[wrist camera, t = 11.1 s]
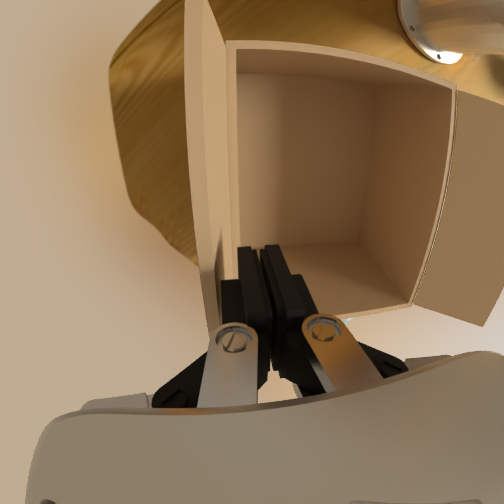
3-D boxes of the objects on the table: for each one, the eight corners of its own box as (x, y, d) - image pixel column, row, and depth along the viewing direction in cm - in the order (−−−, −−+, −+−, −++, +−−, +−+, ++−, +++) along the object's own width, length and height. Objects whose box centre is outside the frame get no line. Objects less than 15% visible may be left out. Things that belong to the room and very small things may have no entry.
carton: (223, 70, 25) (225, 40, 13) (375, 83, 26) (456, 84, 14) (229, 250, 36) (236, 330, 23) (359, 243, 37) (411, 306, 25)
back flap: (544, 124, 10) (542, 124, 10) (458, 90, 14) (457, 91, 15) (482, 327, 20) (482, 323, 21) (413, 304, 25) (414, 300, 25)
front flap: (225, 47, 13) (217, 47, 13) (203, -12, 5) (185, -9, 5) (236, 328, 23) (230, 328, 23) (233, 423, 15) (225, 423, 15)
